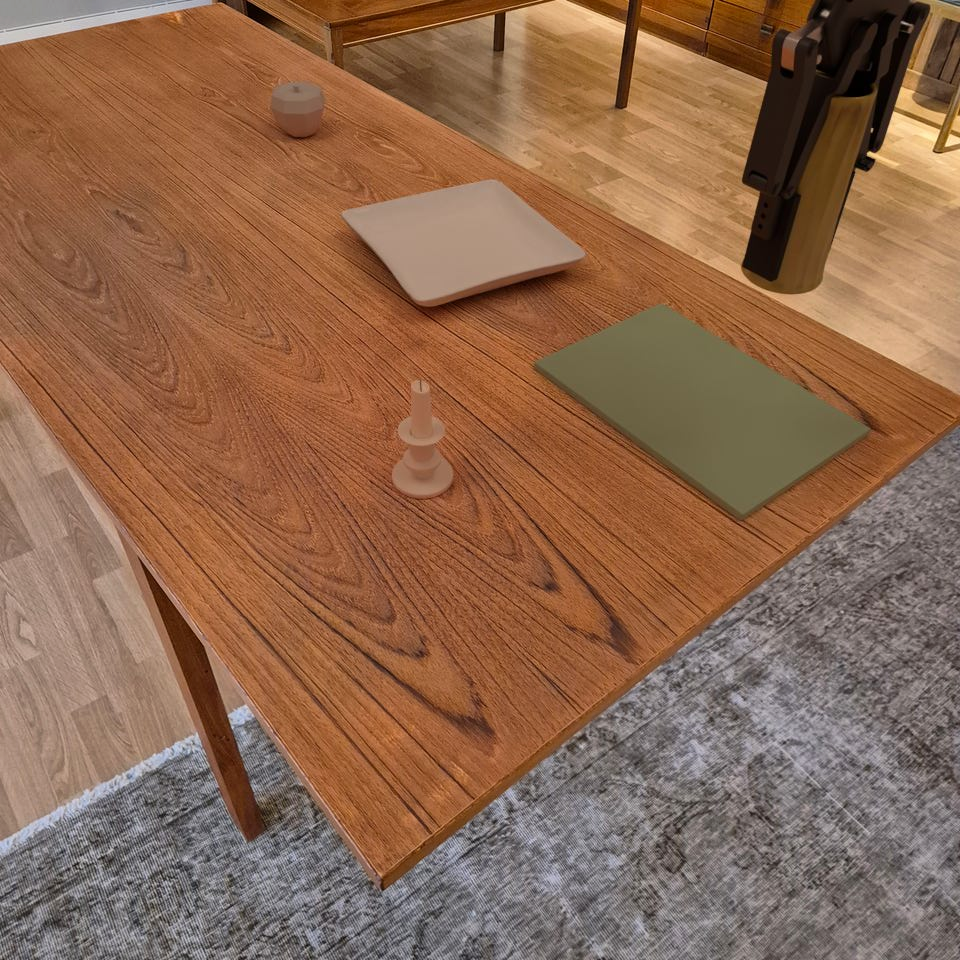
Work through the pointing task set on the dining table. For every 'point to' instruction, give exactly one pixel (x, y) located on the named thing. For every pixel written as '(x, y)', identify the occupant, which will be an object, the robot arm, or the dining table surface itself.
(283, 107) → the apple
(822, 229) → the fluted gold cylinder
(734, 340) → the dining table surface
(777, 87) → the robot arm
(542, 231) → the plate
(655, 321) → the mat
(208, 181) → the dining table surface
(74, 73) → the dining table surface
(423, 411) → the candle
